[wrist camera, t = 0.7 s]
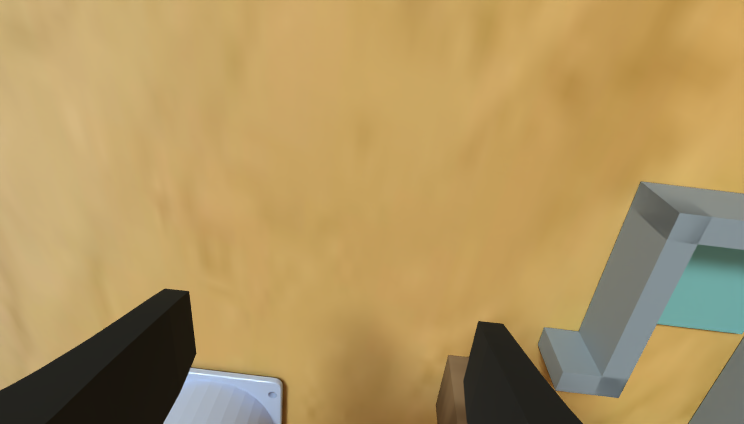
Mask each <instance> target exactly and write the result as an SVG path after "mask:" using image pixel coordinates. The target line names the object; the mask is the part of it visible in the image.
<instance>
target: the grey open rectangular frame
mask: <svg viewBox="0 0 744 424" xmlns="http://www.w3.org/2000/svg"><path fill="white" fill-rule="evenodd" d="M698 244H699V245H707V246H716V247H724V248H732V249H741V250H744V194H741V193H733V192H724V191H716V190H708V189H699V188H691V187H682V186H674V185H666V184H657V183H649V182H641V183H640V185H639V187H638V190H637V192H636V195H635V197H634V200H633V202H632V204H631V207H630V209H629V212H628V214H627V216H626V219H625V221H624V224H623V226H622V228H621V231H620V233H619V236H618V238H617V240H616V243H615V245H614V248H613V250H612V252H611V255H610V257H609V260H608V262H607V265H606V267H605V269H604V272H603V274H602V277H601V279H600V281H599V284H598V286H597V289H596V291H595V293H594V296H593V298H592V301H591V303H590V305H589V308H588V310H587V313H586V315H585V317H584V320H583V322H582V325H581V327H580V330H579V332H578V331H570V330H562V329H553V328H545V327H544V329H543V332H542V335H541V338H540V340H539V343H538V346H539V349H540V352H541V354H542V357H543V359H544V362H545V365H546V367H547V370H548V372H549V375H550V377H551V380H552V383H553V385H554V388H555V390H556V391H565V392H573V393H581V394H590V395H598V396H607V397H615V398H619V396H620V394H621V393H622V391H623V389H624V387H625V385H626V383H627V381H628V379H629V377H630V375H631V373H632V371H633V369H634V367H635V365H636V363H637V361H638V360H639V358H640V356H641V354H642V352H643V350H644V348H645V346H646V344H647V342H648V340H649V338H650V336H651V334H652V332H653V330H654V328H655V326H656V325H657V323H658V321H659V319H660V317H661V315H662V313H663V311H664V309H665V307H666V305H667V303H668V301H669V299H670V297H671V295H672V293H673V292H674V290H675V288H676V286H677V284H678V282H679V280H680V278H681V276H682V274H683V272H684V270H685V268H686V266H687V264H688V262H689V260H690V258H691V257H692V255H693V253H694V251H695V249H696V247H697V245H698ZM689 424H744V338H743V339H742V341H741V343H740V344H739V346H738V347H737V349H736V350H735V352H734V353H733V355H732V357H731V358H730V360H729V361H728V363H727V364H726V366H725V368H724V369H723V371H722V372H721V374H720V375H719V377H718V378H717V380H716V382H715V383H714V385H713V386H712V388H711V389H710V391H709V392H708V394H707V396H706V397H705V399H704V400H703V402H702V403H701V405H700V407H699V408H698V410H697V411H696V413H695V414H694V416H693V417H692V419H691V421H690V422H689Z"/></svg>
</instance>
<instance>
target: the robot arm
mask: <svg viewBox="0 0 744 424" xmlns="http://www.w3.org/2000/svg"><path fill="white" fill-rule="evenodd" d="M195 355H196V347H195V338H194V330H193V321H192V312H191V304H190V295H189V291H182V290H172V289H164V290H162V291H160V292H159V293H157V294H156V295H154V296H152V297H151V298H149V299H148V300H146V301H145V302H143V303H142V304H141V305H139V306H138V307H136V308H135V309H133V310H132V311H130V312H129V313H127V314H126V315H124V316H123V317H121V318H120V319H118V320H117V321H115V322H114V323H112V324H111V325H109V326H108V327H106V328H105V329H103V330H102V331H100V332H99V333H97V334H96V335H94V336H93V337H91V338H90V339H88V340H86V341H85V342H83V343H82V344H80V345H78V346H77V347H75V348H73V349H72V350H70V351H69V352H67V353H65V354H64V355H62V356H60V357H59V358H57V359H55V360H54V361H52V362H50V363H49V364H47V365H46V366H44V367H42V368H41V369H39V370H37V371H35V372H34V373H32V374H30V375H28V376H27V377H25V378H23V379H21V380H19V381H17V382H16V383H14V384H12V385H10V386H8V387H6V388H4V389H2V390H1V391H0V424H282V396H283V384H282V382H281V381H280V380H279V379H277V378H272V377H264V376H255V375H247V374H238V373H230V372H222V371H213V370H205V369H196V368H191V365H192V363H193V360H194V358H195ZM463 384H464V397H465V409H466V419H467V424H583V423H582V422H581V421H580V420H579V419H578V418H577V417H576V415H575V414H574V413H573V412H572V411H571V410H570V409H569V408H568V406H567V405H566V404H565V403H564V402H563V401H562V399H561V398H560V397H559V396H558V394H557V393H556V392H555V391H554V389H553V388H552V387H551V386H550V385H549V383H548V382H547V381H546V380H545V378H544V377H543V376H542V375H541V373H540V372H539V371H538V369H537V368H536V367H535V366H534V364H533V363H532V362H531V360H530V359H529V358H528V356H527V355H526V354H525V352H524V351H523V350H522V348H521V347H520V346H519V344H518V343H517V342H516V340H515V339H514V338H513V336H512V335H511V334H510V332H509V331H508V330H507V328H506V327H505V326H504V324H500V323H490V322H481V321H478V325H477V329H476V333H475V336H474V340H473V344H472V348H471V352H470V356H469V360H468V364H467V368H466V372H465V376H464V380H463ZM274 392H275V393H274Z"/></svg>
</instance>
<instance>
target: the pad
mask: <svg viewBox="0 0 744 424" xmlns="http://www.w3.org/2000/svg"><path fill="white" fill-rule="evenodd" d="M657 324H662V325H670V326H678V327H687V328H695V329H704V330H712V331H720V332H729V333H737V334H742V333H743V332H744V250H741V249H732V248H724V247H716V246H707V245H699V244H698V245H697V247H696V249H695V251H694V253H693V255H692V257H691V258H690V260H689V262H688V264H687V266H686V268H685V270H684V272H683V274H682V276H681V278H680V280H679V282H678V284H677V286H676V288H675V290H674V292H673V293H672V295H671V297H670V299H669V301H668V303H667V305H666V307H665V309H664V311H663V313H662V315H661V317H660V319H659V321H658V323H657Z"/></svg>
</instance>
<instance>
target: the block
mask: <svg viewBox="0 0 744 424" xmlns="http://www.w3.org/2000/svg"><path fill="white" fill-rule="evenodd" d="M468 360H469V357H462V356H453V355H448V358H447V362H446V366H445V370H444V374H443V379H442V383H441V387H440V391H439V395H438V399H437V403H436V412H437V423H438V424H467V419H466V409H465V397H464V384H463V380H464V376H465V372H466V368H467V364H468Z"/></svg>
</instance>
